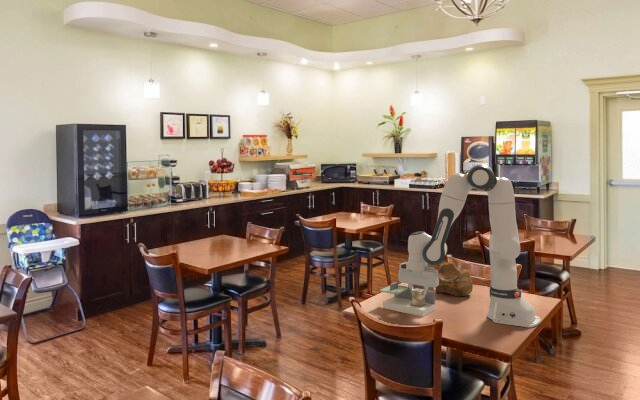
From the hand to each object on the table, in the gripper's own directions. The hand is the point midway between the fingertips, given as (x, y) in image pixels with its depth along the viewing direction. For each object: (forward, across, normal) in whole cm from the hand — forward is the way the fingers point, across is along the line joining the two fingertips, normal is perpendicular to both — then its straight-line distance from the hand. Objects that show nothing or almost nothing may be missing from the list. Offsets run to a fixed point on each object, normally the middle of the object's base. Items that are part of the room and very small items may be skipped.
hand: (418, 293), depth 236 cm
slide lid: (0, +13, +1) cm, 13 cm away
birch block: (+5, 0, 0) cm, 5 cm away
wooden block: (+9, +8, -18) cm, 21 cm away
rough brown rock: (+9, +2, -36) cm, 37 cm away
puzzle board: (+8, +6, 0) cm, 10 cm away
